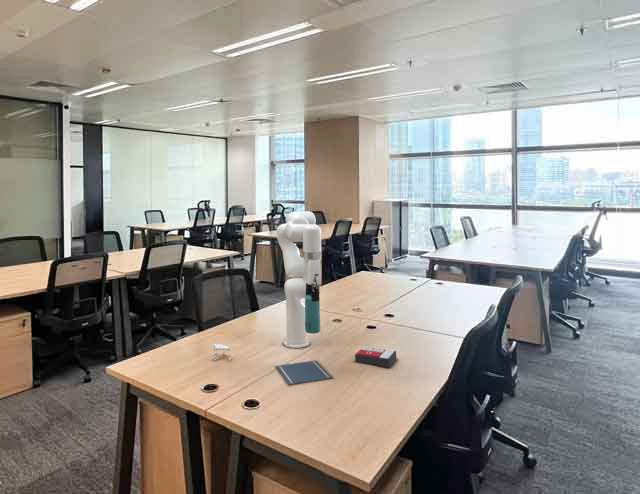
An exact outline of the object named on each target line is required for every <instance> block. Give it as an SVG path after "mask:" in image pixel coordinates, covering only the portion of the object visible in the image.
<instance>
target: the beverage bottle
mask: <svg viewBox="0 0 640 494" xmlns="http://www.w3.org/2000/svg"><path fill="white" fill-rule="evenodd" d="M314 287H315V286H314ZM307 292H308V293H312V286H310V287H308V288H307ZM320 299H321V298H320V296H319V301H314V302H312V294H308V295H307V296H306V297H305V298H304V304H305V331H306V334H310V335H311V334H319V333H320V332H321V307H320V303H321V302H320V301H321V300H320Z"/></svg>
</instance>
